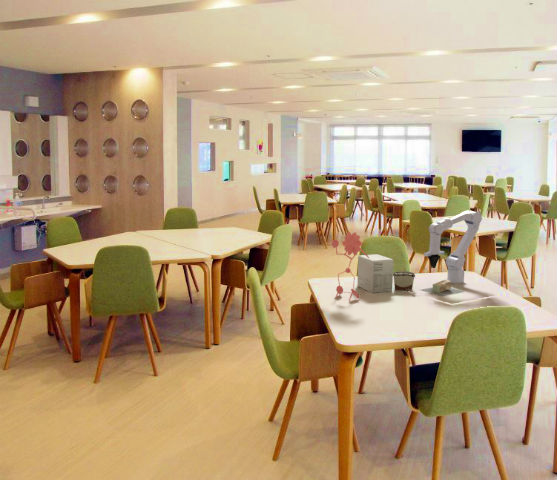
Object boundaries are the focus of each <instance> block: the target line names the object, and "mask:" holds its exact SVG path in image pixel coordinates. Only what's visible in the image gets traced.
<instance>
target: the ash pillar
mask: <svg viewBox="0 0 557 480" xmlns="http://www.w3.org/2000/svg"><path fill="white" fill-rule="evenodd" d="M432 287H433V291H434V292H437V293H439V292H442V291H445V290H447V289H450V288H452V283H451V281H448V280H447V279H444V280H440V281H437V282H435V283H433V284H432Z"/></svg>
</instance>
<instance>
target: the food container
mask: <svg viewBox="0 0 557 480" xmlns="http://www.w3.org/2000/svg"><path fill="white" fill-rule="evenodd" d="M415 278H416V274H415V273H414V272H412V271H405V270H400V271H399V270H398V271H393V284H394V285H393V286H394V291H395V292H410V291H412V290H413V287H414V280H415Z"/></svg>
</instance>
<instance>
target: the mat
mask: <svg viewBox="0 0 557 480" xmlns="http://www.w3.org/2000/svg"><path fill="white" fill-rule="evenodd" d="M420 291H422V292H425V293H429V294H432V295H436V296H440V297H445V296H446V297H447V296H452V295H456V294H462V293H465V291H463V290H459V289H455V288H452V287H451V288H450V289H447V290H445V291H442V292H439V293H437V292H434V291H433V286H432V287H429V288H428V287H427V288H423V289H420Z"/></svg>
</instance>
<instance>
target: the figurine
mask: <svg viewBox="0 0 557 480" xmlns="http://www.w3.org/2000/svg"><path fill="white" fill-rule="evenodd" d="M360 239H361V237H360V235H358V234H357V232H352V233H351V232H350V231H348V232H347V233H346V235H344V240H342V242H341V244H342V245H343V246H344V251H345V252H344V253H338V246H339V245H340V244H339V243H340V242H339V240H338V239H337V238H335V239H333V240H332V241H331V246H332V248H333V249H335V253H336V255H341V256H346V257H347V258H349V259H350V261H349V264H348V267H347V268H345V270H343V272H339V273H338V274H337V280H338V285H337V287H336V289H335V290H336V295H335V298H338V295H339V296H340V295H341V294H343V293H344V294H345V293H346V294H347V293H349V294H350V296H349V299H348V301H350V302H351V298H352V297H353V296H354V297H355V298H357V299H358V300H360V295H359V293H358V292H357V291H356V290H355V283H353V284H352V288H351V289H350V291H351V292H348V291H347V292H345V291H344V288H343V286H341V284H340V283H341V282H340V278H339V275H340V274H344V273H347V274H349V273H350V274H351V275H352V277H353V281H355V280H356V279H355V275H353V273H352V270H351V268H350V266H351V263H352V260H353V259H354V258H355V256H357V255H358V252H362V253H363V255H366V256H367V257H368V255H369V254H367V253H366V252H365V251H364V250H363V249H362V248H361V246H363V242H362V240H360ZM352 254H353V256H352V257H350V256H351V255H352ZM368 258H369V257H368ZM352 295H353V296H352ZM357 303H358V304H359V303H360V302H358V301H357Z"/></svg>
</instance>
